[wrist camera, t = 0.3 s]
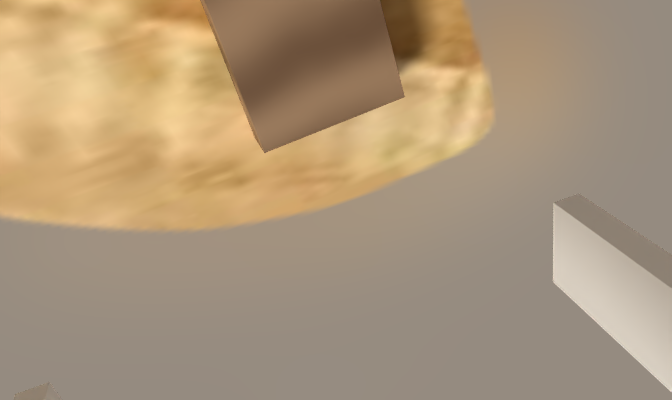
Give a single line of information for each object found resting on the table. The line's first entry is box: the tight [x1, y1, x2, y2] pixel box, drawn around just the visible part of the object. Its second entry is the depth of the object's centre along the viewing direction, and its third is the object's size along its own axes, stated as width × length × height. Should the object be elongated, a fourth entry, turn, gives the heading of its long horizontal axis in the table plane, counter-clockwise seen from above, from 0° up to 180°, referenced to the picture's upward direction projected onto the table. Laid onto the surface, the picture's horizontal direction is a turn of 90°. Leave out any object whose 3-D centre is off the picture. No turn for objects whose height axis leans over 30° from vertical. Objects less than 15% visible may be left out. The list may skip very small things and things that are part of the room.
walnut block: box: [201, 0, 405, 153], centre depth 34 cm, size 10×10×4 cm
